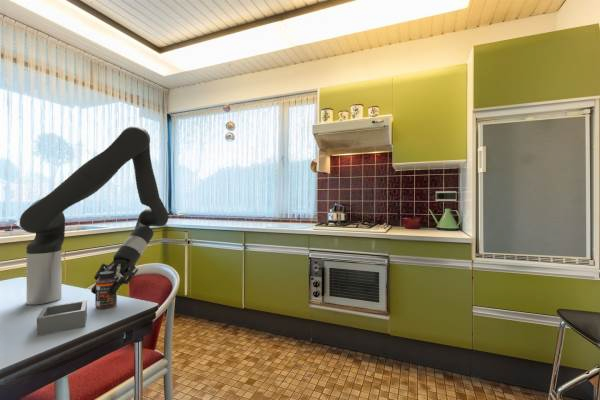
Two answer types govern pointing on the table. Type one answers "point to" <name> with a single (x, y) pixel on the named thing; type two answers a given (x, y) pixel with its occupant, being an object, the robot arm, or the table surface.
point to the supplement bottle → (105, 291)
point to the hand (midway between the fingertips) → (101, 293)
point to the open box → (62, 317)
